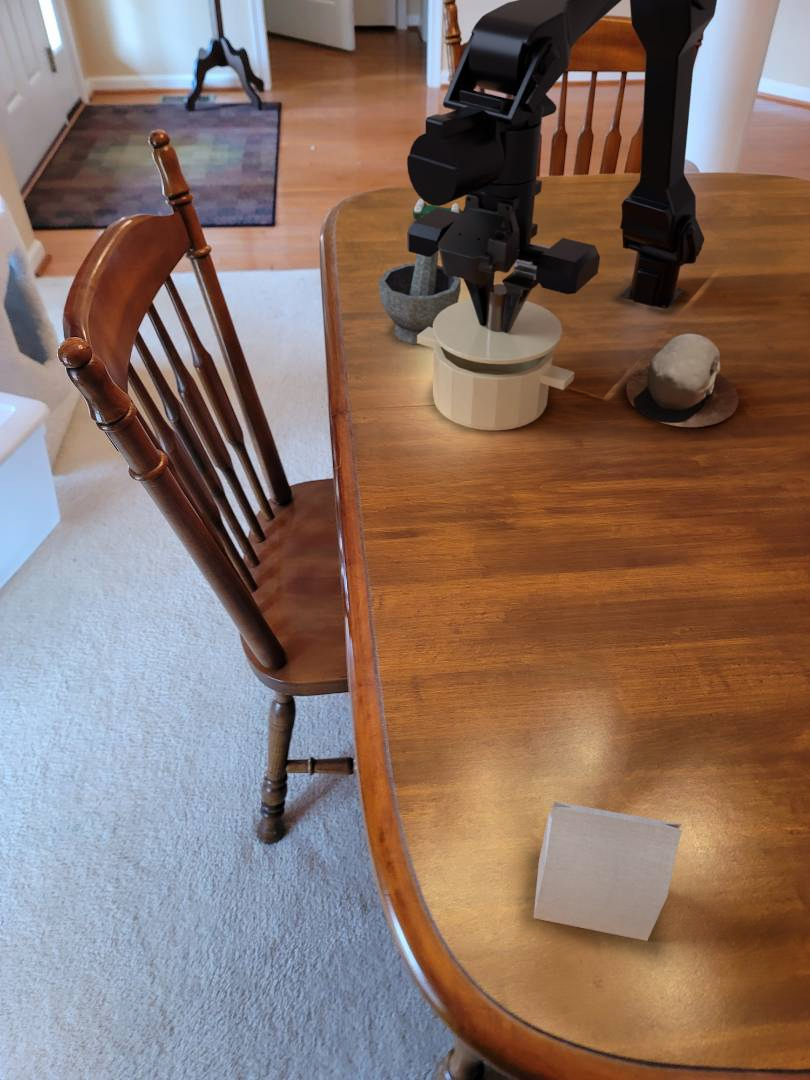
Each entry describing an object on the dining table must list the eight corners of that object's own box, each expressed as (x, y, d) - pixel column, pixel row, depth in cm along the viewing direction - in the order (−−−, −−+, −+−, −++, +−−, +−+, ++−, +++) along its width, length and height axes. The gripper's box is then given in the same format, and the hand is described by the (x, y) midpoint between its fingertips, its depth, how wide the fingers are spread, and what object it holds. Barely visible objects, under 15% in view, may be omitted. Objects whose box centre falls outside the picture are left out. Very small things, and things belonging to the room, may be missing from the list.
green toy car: (415, 232, 132) (404, 215, 126) (421, 209, 132) (411, 191, 126) (470, 240, 129) (462, 224, 124) (476, 217, 129) (468, 199, 124)
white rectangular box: (647, 940, 50) (683, 860, 43) (533, 918, 51) (551, 836, 44) (646, 881, 52) (680, 797, 46) (538, 861, 53) (556, 776, 47)
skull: (655, 346, 99) (726, 304, 91) (699, 421, 100) (773, 386, 91) (599, 383, 93) (669, 342, 84) (646, 462, 93) (720, 430, 85)
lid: (435, 304, 94) (436, 259, 90) (557, 307, 93) (563, 261, 90) (429, 367, 84) (429, 319, 80) (565, 371, 83) (571, 323, 80)
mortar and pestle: (446, 356, 100) (449, 260, 92) (372, 346, 102) (368, 251, 94) (467, 313, 108) (471, 221, 100) (398, 305, 110) (396, 213, 102)
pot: (450, 351, 101) (452, 302, 97) (587, 396, 93) (596, 345, 89) (392, 400, 93) (390, 349, 89) (536, 452, 86) (542, 399, 81)
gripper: (372, 181, 76) (378, 336, 87) (559, 225, 68) (540, 388, 79) (437, 147, 83) (435, 294, 93) (613, 183, 75) (589, 339, 86)
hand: (495, 327), depth 88 cm, fingers closed on lid, 2 cm apart
